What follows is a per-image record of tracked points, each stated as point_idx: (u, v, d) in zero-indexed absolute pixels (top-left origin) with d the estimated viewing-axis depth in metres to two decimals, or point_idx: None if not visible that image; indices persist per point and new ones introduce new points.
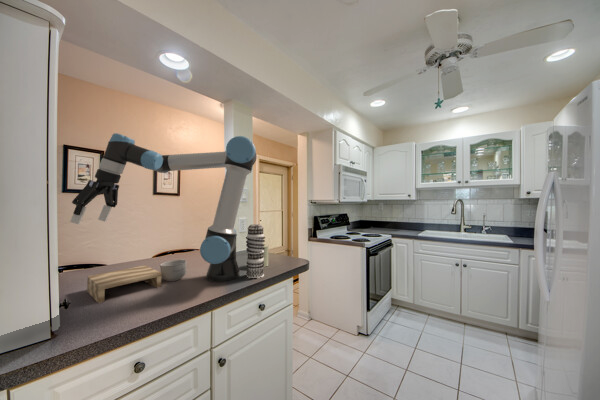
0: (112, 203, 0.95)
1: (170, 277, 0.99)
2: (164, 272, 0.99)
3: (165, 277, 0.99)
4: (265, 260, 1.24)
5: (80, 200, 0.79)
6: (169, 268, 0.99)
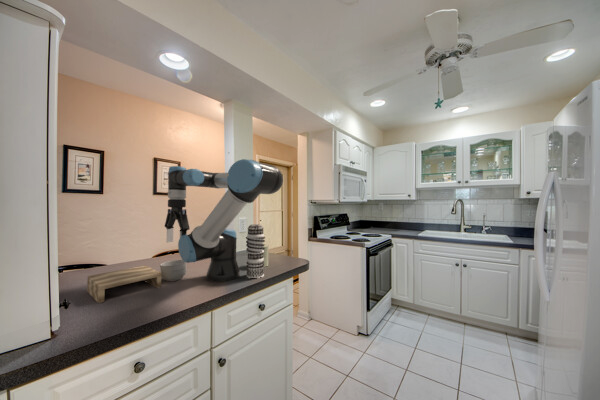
0: None
1: (170, 277, 0.99)
2: (164, 272, 0.99)
3: (165, 277, 0.99)
4: (265, 260, 1.24)
5: (188, 225, 1.01)
6: (169, 268, 0.99)
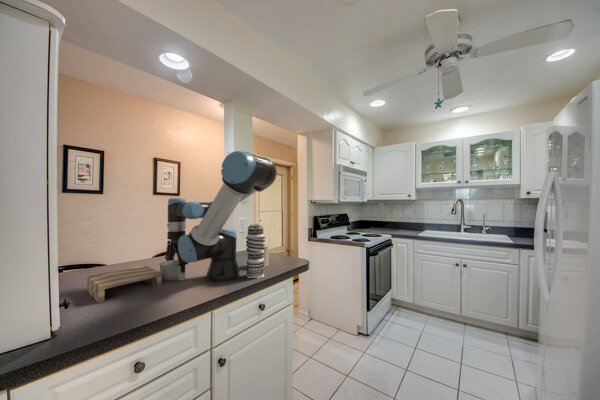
0: None
1: (169, 277, 0.99)
2: (163, 272, 0.99)
3: (164, 277, 0.99)
4: (265, 260, 1.24)
5: None
6: (168, 268, 0.99)
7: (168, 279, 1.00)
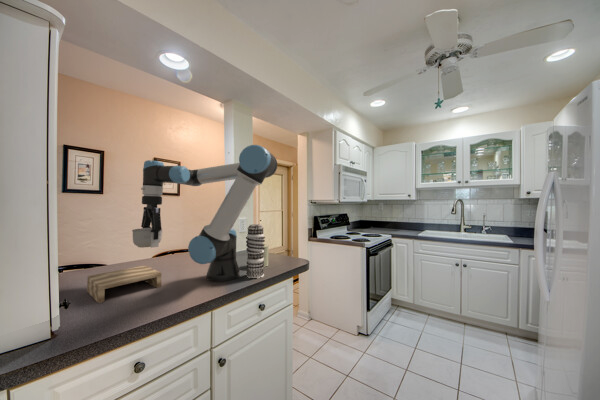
0: None
1: (141, 243, 0.93)
2: (135, 237, 0.93)
3: (136, 242, 0.93)
4: (265, 260, 1.24)
5: (160, 226, 0.94)
6: (140, 233, 0.93)
7: (140, 245, 0.94)
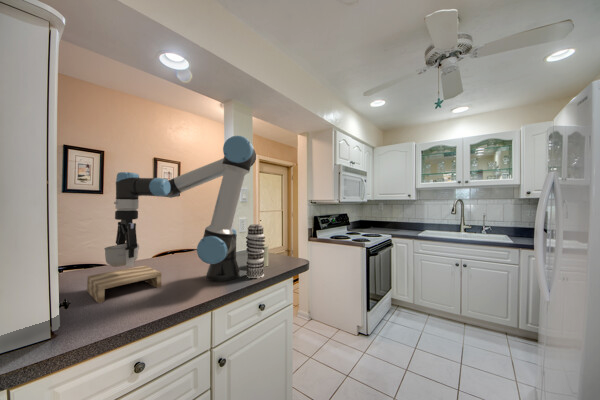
0: None
1: (115, 262, 0.86)
2: (108, 256, 0.86)
3: (109, 262, 0.86)
4: (265, 260, 1.24)
5: (135, 243, 0.87)
6: (113, 251, 0.86)
7: (114, 265, 0.87)
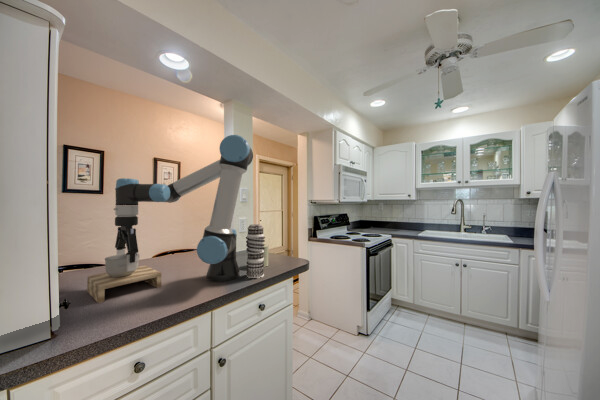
0: None
1: (115, 272, 0.86)
2: (108, 267, 0.86)
3: (109, 272, 0.86)
4: (265, 260, 1.24)
5: (136, 248, 0.87)
6: (114, 262, 0.85)
7: (114, 275, 0.86)
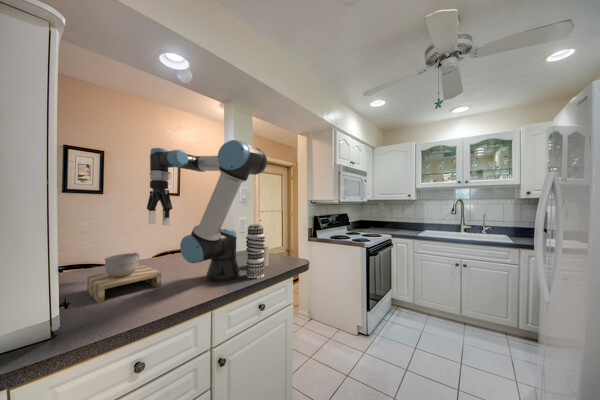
0: None
1: (115, 272, 0.86)
2: (108, 267, 0.86)
3: (109, 272, 0.86)
4: (265, 260, 1.24)
5: (171, 205, 1.03)
6: (114, 262, 0.85)
7: (114, 275, 0.86)
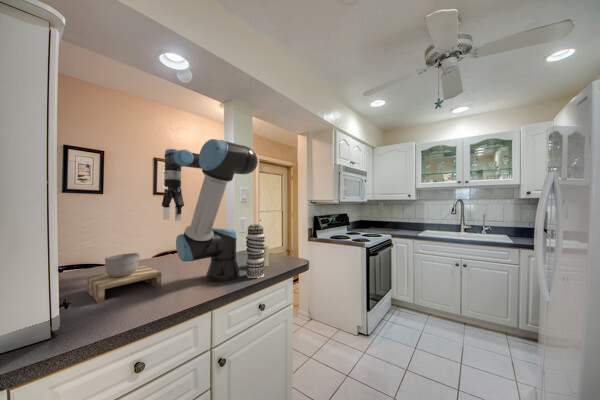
0: None
1: (115, 272, 0.86)
2: (108, 267, 0.86)
3: (109, 272, 0.86)
4: (265, 260, 1.24)
5: (182, 202, 1.11)
6: (114, 262, 0.85)
7: (114, 275, 0.86)
